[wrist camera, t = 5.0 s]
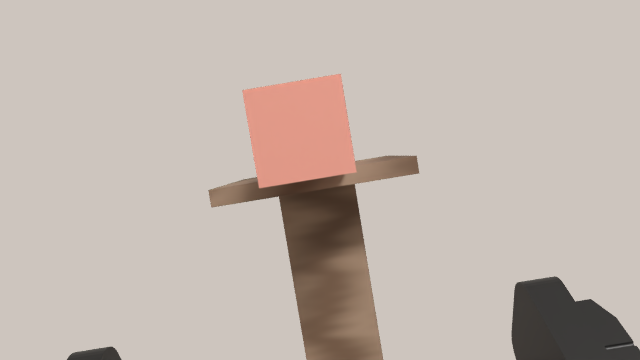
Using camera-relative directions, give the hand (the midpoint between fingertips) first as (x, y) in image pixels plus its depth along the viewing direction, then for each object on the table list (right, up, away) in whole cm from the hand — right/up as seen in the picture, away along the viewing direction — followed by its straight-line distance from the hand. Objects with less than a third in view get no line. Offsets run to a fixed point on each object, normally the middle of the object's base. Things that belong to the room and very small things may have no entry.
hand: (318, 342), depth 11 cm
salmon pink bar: (0, +4, +22) cm, 22 cm away
